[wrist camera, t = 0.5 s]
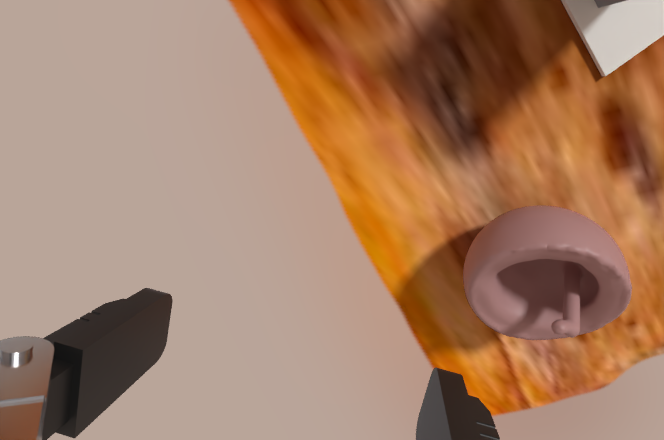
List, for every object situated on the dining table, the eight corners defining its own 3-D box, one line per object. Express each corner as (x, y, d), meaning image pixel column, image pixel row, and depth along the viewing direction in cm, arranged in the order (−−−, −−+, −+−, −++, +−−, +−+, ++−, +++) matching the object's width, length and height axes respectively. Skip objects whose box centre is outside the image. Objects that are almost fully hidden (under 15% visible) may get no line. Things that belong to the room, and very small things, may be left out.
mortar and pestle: (423, 270, 40) (456, 341, 29) (497, 165, 37) (566, 201, 26) (520, 323, 42) (586, 407, 31) (600, 227, 39) (704, 285, 28)
